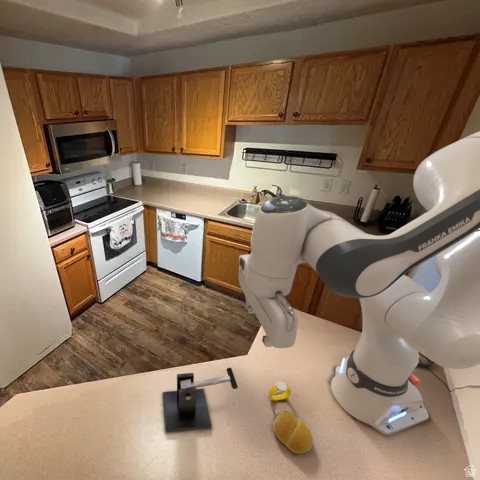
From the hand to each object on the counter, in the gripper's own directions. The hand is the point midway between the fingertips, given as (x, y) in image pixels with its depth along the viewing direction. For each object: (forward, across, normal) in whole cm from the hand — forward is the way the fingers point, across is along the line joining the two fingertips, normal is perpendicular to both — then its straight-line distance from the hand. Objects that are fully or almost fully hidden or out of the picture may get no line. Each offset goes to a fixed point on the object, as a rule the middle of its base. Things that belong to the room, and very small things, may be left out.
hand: (258, 326), depth 58 cm
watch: (+31, +1, -11) cm, 33 cm away
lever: (+20, 0, +10) cm, 23 cm away
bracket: (+31, 0, +16) cm, 35 cm away
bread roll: (+31, -8, -10) cm, 34 cm away
